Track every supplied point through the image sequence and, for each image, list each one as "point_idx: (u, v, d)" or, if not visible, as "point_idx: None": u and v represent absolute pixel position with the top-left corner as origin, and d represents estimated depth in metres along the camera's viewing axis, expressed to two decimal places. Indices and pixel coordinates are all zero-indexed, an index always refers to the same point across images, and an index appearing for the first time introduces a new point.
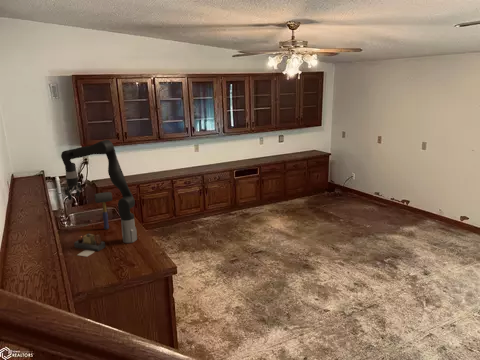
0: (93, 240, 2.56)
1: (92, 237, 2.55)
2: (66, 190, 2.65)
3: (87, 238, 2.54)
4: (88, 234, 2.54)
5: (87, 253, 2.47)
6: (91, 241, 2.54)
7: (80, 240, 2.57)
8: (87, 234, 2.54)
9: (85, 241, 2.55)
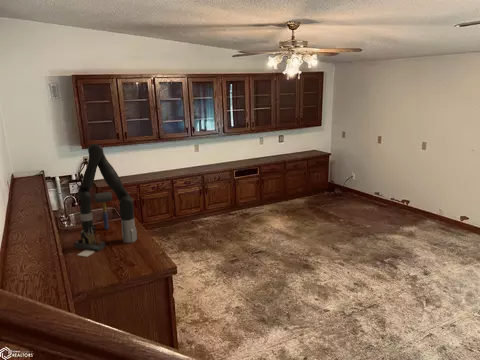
0: (93, 240, 2.56)
1: (92, 237, 2.55)
2: (82, 235, 2.49)
3: None
4: None
5: (87, 253, 2.47)
6: (91, 241, 2.54)
7: (80, 240, 2.57)
8: None
9: None
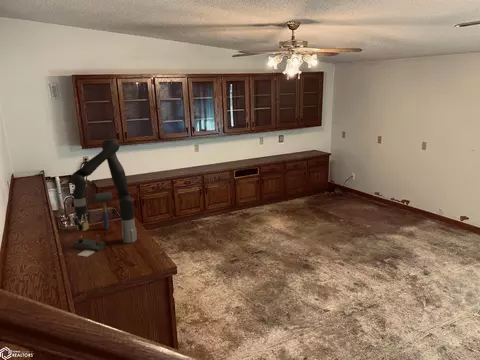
0: (87, 227, 2.44)
1: (86, 224, 2.42)
2: (75, 221, 2.36)
3: None
4: (82, 221, 2.42)
5: (87, 253, 2.47)
6: (84, 228, 2.41)
7: (80, 240, 2.57)
8: None
9: None
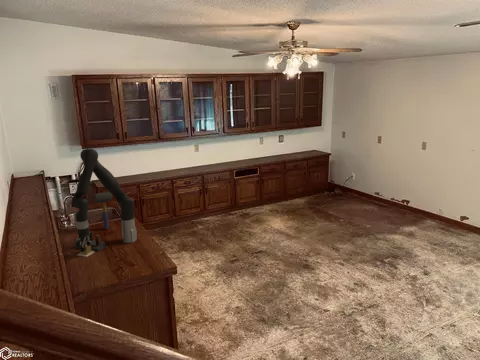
0: (90, 251, 2.48)
1: (89, 248, 2.47)
2: (77, 243, 2.40)
3: None
4: (85, 245, 2.46)
5: None
6: (87, 252, 2.46)
7: None
8: (83, 245, 2.46)
9: (81, 252, 2.46)
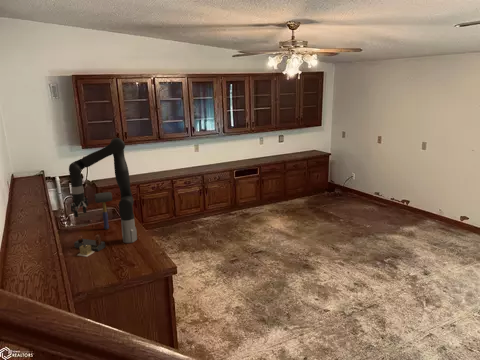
0: (90, 251, 2.48)
1: (89, 248, 2.47)
2: (72, 207, 2.43)
3: (83, 249, 2.45)
4: (85, 245, 2.46)
5: None
6: (87, 252, 2.46)
7: (80, 240, 2.57)
8: (83, 245, 2.46)
9: (81, 252, 2.46)
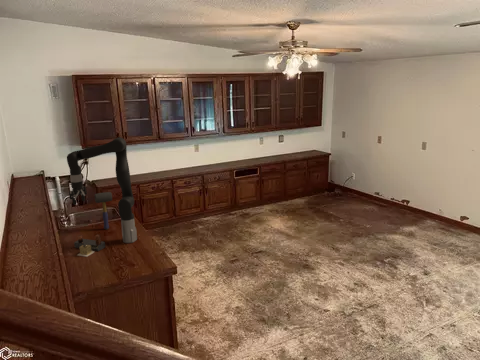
0: (90, 251, 2.48)
1: (89, 248, 2.47)
2: (71, 194, 2.50)
3: (83, 249, 2.45)
4: (85, 245, 2.46)
5: None
6: (87, 252, 2.46)
7: (80, 240, 2.57)
8: (83, 245, 2.46)
9: (81, 252, 2.46)
